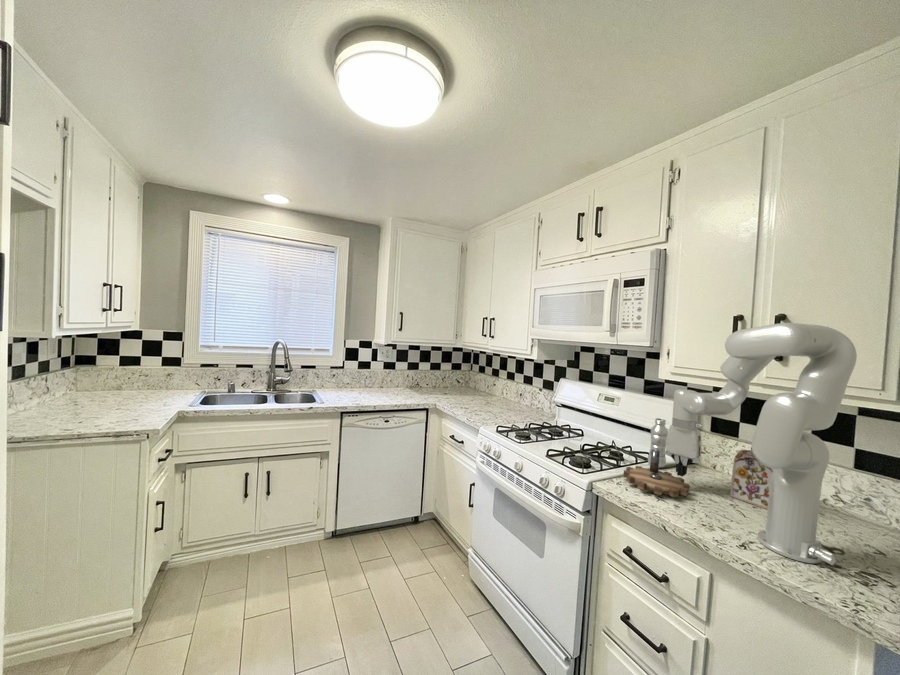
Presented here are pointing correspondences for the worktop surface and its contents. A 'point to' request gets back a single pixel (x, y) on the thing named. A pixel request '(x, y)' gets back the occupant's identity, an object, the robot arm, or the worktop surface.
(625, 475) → the sprocket
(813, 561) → the robot arm
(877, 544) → the worktop surface
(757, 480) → the decorative jar
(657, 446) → the plastic bottle
